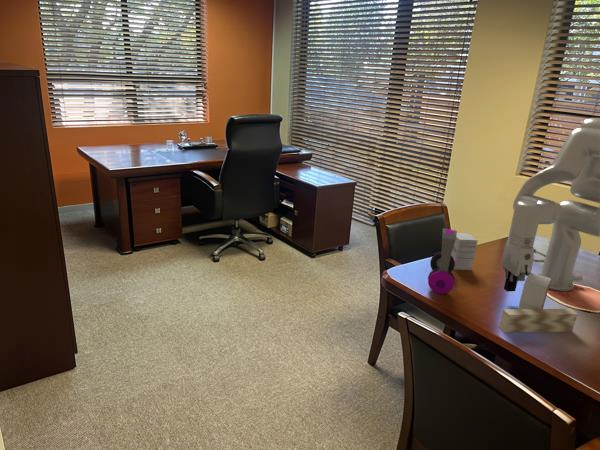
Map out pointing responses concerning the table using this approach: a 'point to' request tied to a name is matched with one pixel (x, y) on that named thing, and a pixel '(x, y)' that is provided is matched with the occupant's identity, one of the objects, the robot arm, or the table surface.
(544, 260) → the extension cord
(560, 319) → the birch board
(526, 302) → the small box
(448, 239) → the headphones
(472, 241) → the supplement box
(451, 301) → the table surface
